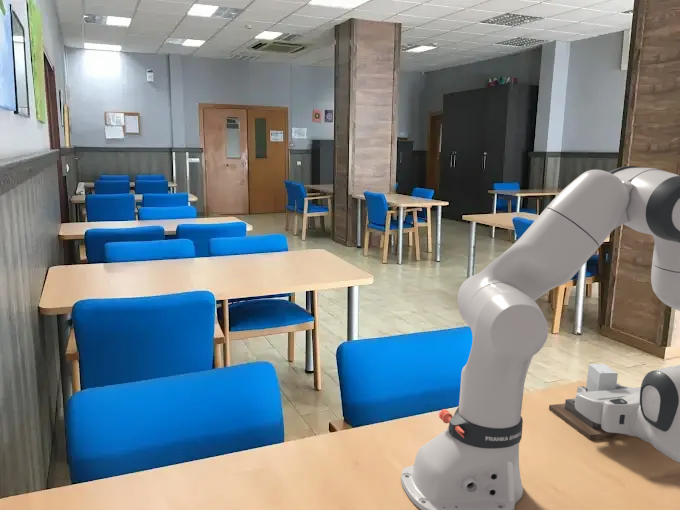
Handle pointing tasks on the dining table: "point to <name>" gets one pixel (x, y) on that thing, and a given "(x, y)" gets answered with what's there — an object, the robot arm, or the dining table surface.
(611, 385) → the skincare box
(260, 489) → the dining table surface
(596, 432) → the collar stand
